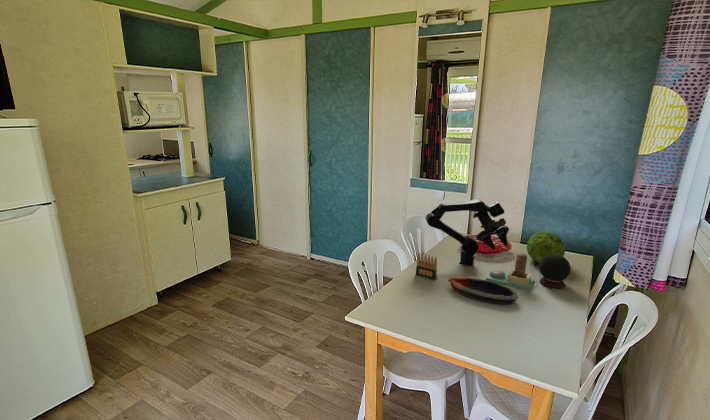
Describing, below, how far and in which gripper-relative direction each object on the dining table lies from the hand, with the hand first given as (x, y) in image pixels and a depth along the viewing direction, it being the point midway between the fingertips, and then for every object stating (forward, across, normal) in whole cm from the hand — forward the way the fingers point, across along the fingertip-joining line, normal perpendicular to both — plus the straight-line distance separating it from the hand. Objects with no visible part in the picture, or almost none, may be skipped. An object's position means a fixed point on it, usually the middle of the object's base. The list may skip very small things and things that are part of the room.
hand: (501, 247), depth 189 cm
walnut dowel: (+18, 0, 0) cm, 18 cm away
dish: (+19, -26, +1) cm, 32 cm away
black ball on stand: (+25, +12, -6) cm, 28 cm away
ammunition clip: (0, -36, +20) cm, 41 cm away
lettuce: (+11, +34, +8) cm, 36 cm away
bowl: (-9, +19, +28) cm, 35 cm away
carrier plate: (+16, -2, +3) cm, 16 cm away
